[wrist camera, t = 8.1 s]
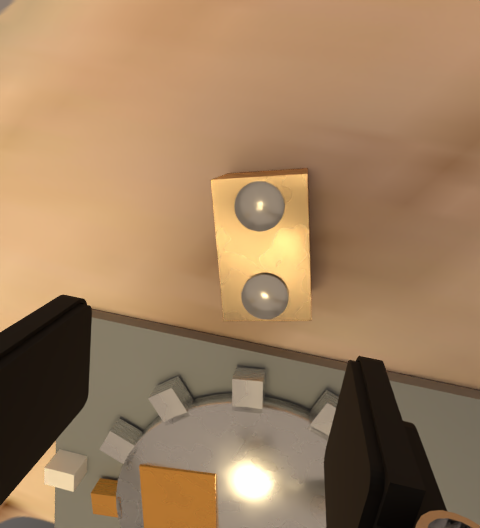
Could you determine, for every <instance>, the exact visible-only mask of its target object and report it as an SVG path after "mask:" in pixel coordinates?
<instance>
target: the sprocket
mask: <svg viewBox="0 0 480 528" xmlns="http://www.w3.org/2000/svg"><path fill="white" fill-rule="evenodd" d="M148 399H149V401H150V402H151V404H152V405H153V407H154V408H155V410H156V411H157V413H158V414H159V417H158V418H156V419H155V420H154V421H153V422H152V423H151V424H150V425H149V426H148V427H147V428H146V429H145V430H144V431H143V432H142V431H140V430H138V429H137V428H135V427H133V426H132V425H130V424H128V423H127V422H125V421H123V420H122V419H120V418H119V419H118V420H117V422H116V423H115V425H114V426H113V428H112V429H111V430H110V432H109V434H108V436H107V437H106V439H105V441H104V442H103V444H102V446H101V447H100V449H99V450H101V451H102V452H104V453H106V454H107V455H109V456H111V457H112V458H114V459H116V460H117V461H119V462H121V463H122V464H123V466H122V469H121V472H120V475H119V478H118V481H117V480H110V479H102V478H100V479H99V481H98V482H97V484H96V485H95V487H94V489H93V490H92V492H91V501H92V509H93V514H97V515H104V516H111V517H117V518H118V519H119V523H120V526H121V528H326V506H325V483H324V455H325V450H326V446H327V442H328V438H329V434H330V430H331V426H332V422H333V418H334V414H335V410H336V406H337V403H338V399H339V397H338V396H336V395H335V394H333V393H331V392H330V391H328V390H326V391H325V392H324V393H323V395H322V396H321V397H320V399H319V400H318V401H317V402H316V404H315V405H314V406H313V407H312V409H311V410H310V411H309V410H307V409H304V408H302V407H299V406H297V405H294V404H292V403H289V402H286V401H283V400H279V399H275V398H271V397H267V396H265V370H264V369H253V368H241V367H236V369H235V372H234V375H233V378H232V393H229V394H216V395H210V396H205V397H200V398H196V399H193V398H192V397H191V395H190V394H189V392H188V390H187V389H186V387H185V386H184V384H183V383H182V381H181V379H180V378H179V376H177V377H175V378H173V379H171V380H168V381H166V382H164V383H162V384H159V385H157V386H155V388H154V390H153V391H152V393H151V394H150V396H149V398H148Z"/></svg>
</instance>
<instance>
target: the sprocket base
mask: <svg viewBox="0 0 480 528" xmlns="http://www.w3.org/2000/svg"><path fill="white" fill-rule="evenodd" d="M347 364H348V363H346V362H341V361H337V360H332V359H327V358H322V357H318V356H313V355H308V354H303V353H299V352H294V351H289V350H284V349H279V348H275V347H270V346H265V345H260V344H256V343H251V342H246V341H241V340H237V339H232V338H227V337H222V336H218V335H213V334H208V333H203V332H198V331H194V330H189V329H184V328H179V327H175V326H170V325H165V324H160V323H156V322H151V321H146V320H141V319H137V318H132V317H127V316H122V315H117V314H113V313H108V312H103V311H98V310H94V309H92V324H91V348H90V371H89V393H88V399H87V402H86V404H85V406H84V407H83V409H82V410H81V411H80V412H79V414H78V415H77V416H76V417H75V418H74V419H73V421H72V422H71V423H70V424H69V425H68V426H67V428H66V429H65V430H64V431H63V432H62V434H61V435H60V436H59V437H58V438H57V439H56V454H55V455H54V457H53V458H52V459H51V460H50V461H49V463H48V464H47V465H46V466H45V468H44V484H46V485H49V486H53V487H55V528H121V526H120V523H119V519H118V518H117V517H111V516H104V515H97V514H93V509H92V501H91V492H92V490H93V489H94V487H95V485H96V484H97V482H98V481H99V479H100V478H102V479H110V480H117V481H118V478H119V475H120V472H121V469H122V466H123V464H122V463H121V462H119V461H117V460H116V459H114V458H112V457H111V456H109V455H107V454H106V453H104V452H102V451H101V450H99V449H100V447H101V446H102V444H103V442H104V441H105V439H106V437H107V436H108V434H109V432H110V430H111V429H112V428H113V426H114V425H115V423H116V422H117V420H118V419H119V418H120V419H122V420H123V421H125V422H127V423H128V424H130V425H132V426H133V427H135V428H137V429H138V430H140V431H142V432H143V431H144V430H145V429H146V428H147V427H148V426H149V425H150V424H151V423H152V422H153V421H154V420H155V419H156V418H158V417H159V414H158V413H157V411H156V410H155V408H154V407H153V405H152V404H151V402H150V401H149V399H148V398H149V396H150V394H151V393H152V391H153V390H154V388H155V386H157V385H159V384H162V383H164V382H166V381H168V380H171V379H173V378H175V377H177V376H179V378H180V379H181V381H182V383H183V384H184V386H185V387H186V389H187V390H188V392H189V394H190V395H191V397H192V398H193V399H196V398H200V397H205V396H210V395H216V394H229V393H232V378H233V375H234V372H235V369H236V367H241V368H253V369H264V370H265V396H267V397H271V398H275V399H279V400H283V401H286V402H289V403H292V404H294V405H297V406H299V407H302V408H304V409H307V410H309V411H310V410H311V409H312V407H313V406H314V405H315V404H316V402H317V401H318V400H319V399H320V397H321V396H322V395H323V393H324V392H325V391H326V390H328V391H330V392H331V393H333V394H335V395H336V396H338V397H339V395H340V391H341V387H342V383H343V379H344V375H345V371H346V367H347ZM386 372H387V375H388V378H389V381H390V384H391V387H392V390H393V393H394V396H395V399H396V402H397V405H398V408H399V411H400V414H401V417H402V420H403V421H406V422H411V423H413V424H414V425H415V427H416V428H417V431H418V433H419V436H420V439H421V442H422V444H423V447H424V450H425V452H426V455H427V458H428V460H429V463H430V466H431V468H432V471H433V474H434V477H435V479H436V482H437V485H438V487H439V490H440V493H441V495H442V498H443V501H444V504H445V506H446V509H447V511H448V512H453V513H456V514H459V515H461V516H463V517H466V518H468V519H470V520H472V521H473V522H475V523H476V524H478V525H479V526H480V390H475V389H470V388H465V387H461V386H456V385H451V384H446V383H441V382H437V381H432V380H427V379H422V378H418V377H413V376H408V375H403V374H399V373H394V372H389V371H386Z"/></svg>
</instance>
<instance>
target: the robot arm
mask: <svg viewBox="0 0 480 528" xmlns="http://www.w3.org/2000/svg"><path fill="white" fill-rule="evenodd" d="M91 324H92V308H91V306H89V305H87V303H86V301H85V299H82V298H77V297H72V296H67V295H60V296H59V297H57V298H55V299H54V300H52V301H50V302H49V303H47V304H46V305H44V306H42V307H41V308H39V309H37V310H36V311H34V312H33V313H31V314H29V315H28V316H26V317H25V318H23V319H21V320H20V321H18V322H16V323H15V324H13V325H12V326H10V327H8V328H7V329H5V330H3V331H2V332H0V505H1V504H2V503H3V502H4V501H5V499H6V498H7V497H8V496H9V495H10V494H11V492H12V491H13V490H14V489H15V488H16V486H17V485H18V484H19V483H20V482H21V481H22V479H23V478H24V477H25V476H26V475H27V474H28V472H29V471H30V470H31V469H32V468H33V466H34V465H35V464H36V463H37V462H38V461H39V459H40V458H41V457H42V456H43V455H44V454H45V452H46V451H47V450H48V449H49V448H50V446H51V445H52V444H53V443H54V442H55V441H56V439H57V438H58V437H59V436H60V435H61V434H62V432H63V431H64V430H65V429H66V428H67V426H68V425H69V424H70V423H71V422H72V421H73V419H74V418H75V417H76V416H77V415H78V414H79V412H80V411H81V410H82V409H83V407H84V406H85V404H86V402H87V399H88V393H89V371H90V348H91ZM324 483H325V506H326V528H480V526H479V525H478V524H476V523H475V522H473V521H472V520H470V519H468V518H466V517H463V516H461V515H459V514H456V513H453V512H448V511H447V509H446V506H445V504H444V501H443V498H442V495H441V493H440V490H439V487H438V485H437V482H436V479H435V477H434V474H433V471H432V468H431V466H430V463H429V460H428V458H427V455H426V452H425V450H424V447H423V444H422V442H421V439H420V436H419V433H418V431H417V428H416V427H415V425H414V424H413V423H411V422H406V421H403V420H402V417H401V414H400V411H399V408H398V405H397V402H396V399H395V396H394V393H393V390H392V387H391V384H390V381H389V378H388V375H387V372H386V369H385V366H384V363H383V361H381V360H376V359H371V358H366V357H361V356H359V357H358V358H357V360H356V361H352V360H349V361H348V364H347V367H346V371H345V375H344V379H343V383H342V387H341V391H340V395H339V399H338V403H337V406H336V410H335V414H334V418H333V422H332V426H331V430H330V434H329V438H328V442H327V446H326V450H325V455H324Z"/></svg>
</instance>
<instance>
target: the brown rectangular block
mask: <svg viewBox="0 0 480 528" xmlns="http://www.w3.org/2000/svg"><path fill="white" fill-rule="evenodd" d="M211 188H212V199H213V210H214V221H215V232H216V243H217V255H218V266H219V277H220V288H221V299H222V310H223V321H311V266H310V230H309V195H308V168H302V169H286V170H271V171H255V172H240V173H227V174H225V175H222V176H220V177H217V178H214V179H212V180H211Z"/></svg>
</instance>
